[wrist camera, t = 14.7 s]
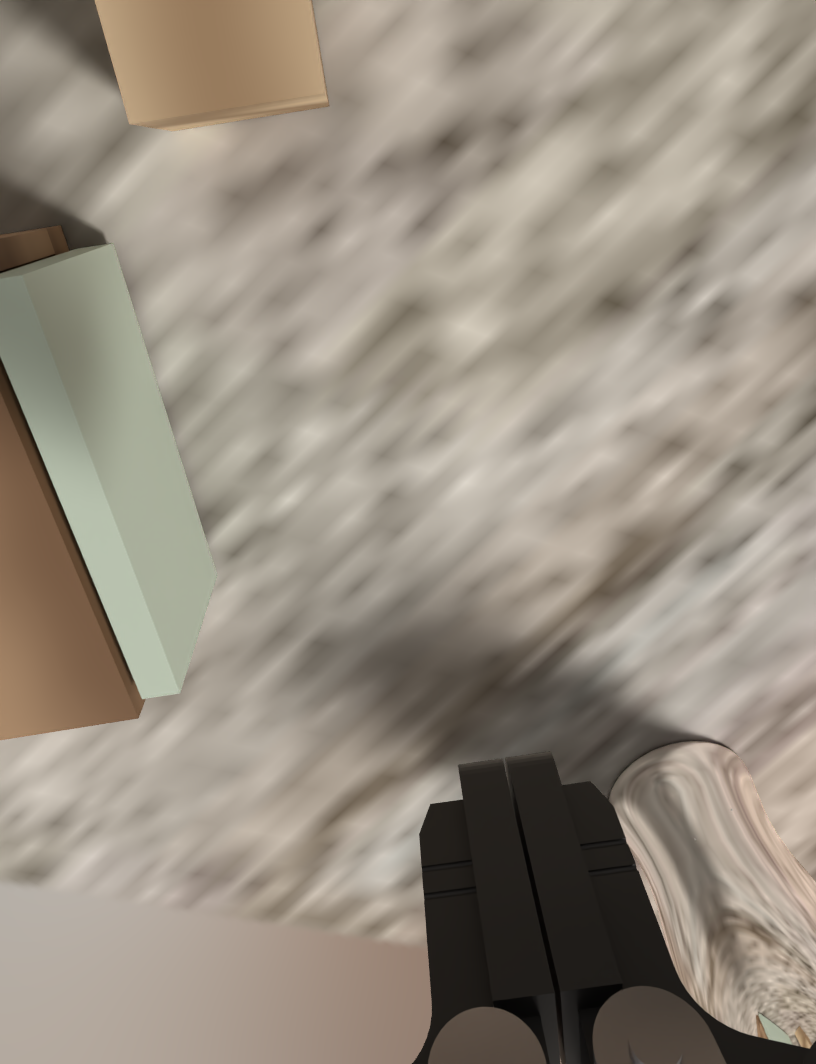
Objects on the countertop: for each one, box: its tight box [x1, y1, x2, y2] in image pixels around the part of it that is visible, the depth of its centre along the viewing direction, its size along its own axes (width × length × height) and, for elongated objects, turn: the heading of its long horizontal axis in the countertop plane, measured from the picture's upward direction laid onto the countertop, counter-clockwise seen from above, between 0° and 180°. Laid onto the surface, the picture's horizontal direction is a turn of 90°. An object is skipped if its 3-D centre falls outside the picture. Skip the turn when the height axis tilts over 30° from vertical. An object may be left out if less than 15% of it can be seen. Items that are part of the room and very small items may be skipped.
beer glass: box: [609, 741, 816, 1048], centre depth 24 cm, size 7×7×15 cm
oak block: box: [95, 0, 329, 131], centre depth 15 cm, size 4×4×4 cm
